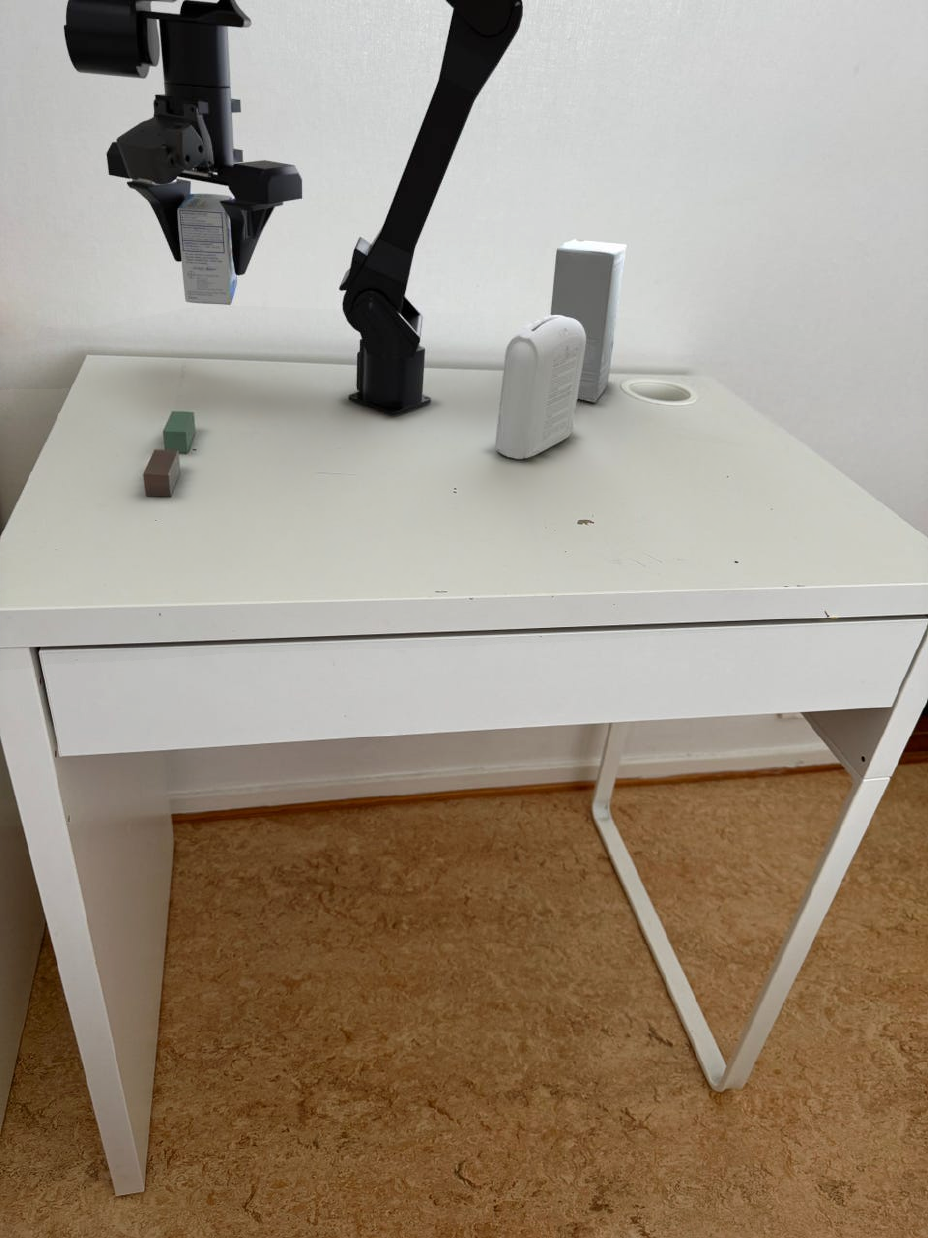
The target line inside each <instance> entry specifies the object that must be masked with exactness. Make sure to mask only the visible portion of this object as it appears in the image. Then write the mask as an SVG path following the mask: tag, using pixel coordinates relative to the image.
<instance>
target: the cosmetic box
mask: <svg viewBox="0 0 928 1238" xmlns="http://www.w3.org/2000/svg"><path fill="white" fill-rule="evenodd" d="M627 246H628V245H627V244H624V243H613V242H603V241H594V240H584V239H571V241H565V242H562V245H561V246H558V247H557V248H556V252H555V260H554V261H555V262H554V270H553V283H552V291H551V292H552V293H551V305H550V315H561V316H564V317H570V318H573V319H575V320H577V321H578V322H580V323H581V325H582V326H583V328H584V331H585V334H586V346H585V352H584V359H583V365H582V371H581V377H580V384H579V390H578V396H577V400H582V401H586V402H591V403H597V401H598V399H599V398H600V397H601V396H602V394H603V393H604V391H605V389H606V388H607V386H608V384H609V379H610V370H611V362H612V354H613V347H614V340H615V332H616V325H617V317H618V310H619V303H620V295H621V287H622V279H623V272H624V264H625V259H626V252H627Z"/></svg>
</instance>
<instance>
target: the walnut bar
mask: <svg viewBox="0 0 928 1238" xmlns="http://www.w3.org/2000/svg"><path fill="white" fill-rule="evenodd" d="M147 462H148V463H147V465H146V467H145V469H144V471H143V473H142V477H143V484H144V485H143V486H144V493H145V496H146V497H164V498H165V497H166V498H167V497H169V498H170V497H171V496H172V495H173V492H174V489H175V486H176V484H177V480H178V478H179V476H180V473H181V464H180V454H179V452H178V450H165V449H159V448H157V449H156V448H155V449H153V451H152V453H151V455H150V458H149V460H148V461H147Z"/></svg>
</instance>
